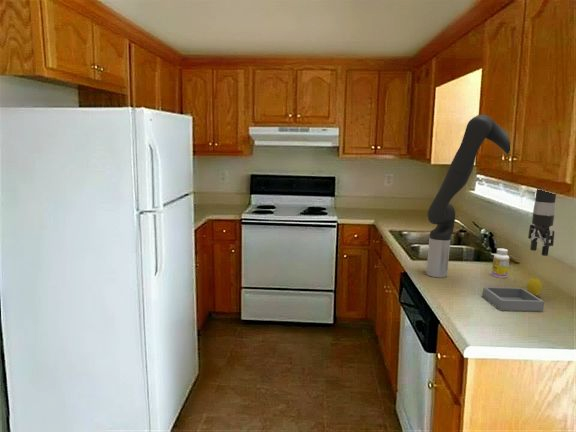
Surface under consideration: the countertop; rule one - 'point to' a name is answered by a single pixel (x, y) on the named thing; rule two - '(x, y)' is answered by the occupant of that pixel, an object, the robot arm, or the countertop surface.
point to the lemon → (534, 286)
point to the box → (513, 299)
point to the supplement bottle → (500, 263)
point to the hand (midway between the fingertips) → (538, 252)
